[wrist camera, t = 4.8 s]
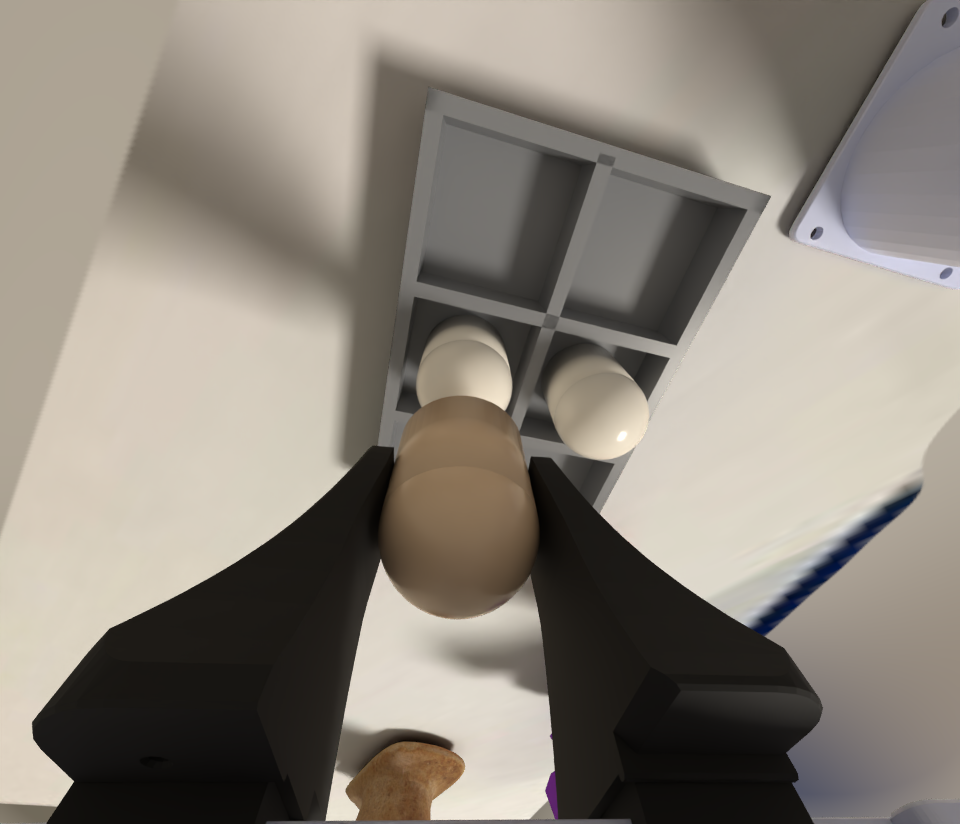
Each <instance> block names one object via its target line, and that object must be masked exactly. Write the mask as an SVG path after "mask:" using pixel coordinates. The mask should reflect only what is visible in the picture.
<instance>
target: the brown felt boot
mask: <svg viewBox="0 0 960 824" xmlns="http://www.w3.org/2000/svg"><path fill="white" fill-rule="evenodd" d="M464 770H465V764H464V761H463V759H462V758H461V757H460V756H458V755H457V754H455V753H454V752H452V751H450V750H447V749H445V748H443V747H439V746H436V745H431V744H425V743H419V742H398V743H395V744H392V745H390V746H389V747H387V748H385V749H384V750H382V751H381V752H380V753H378V754H377V755H376V756H375V757H374V758H373V759H372V760H371V761H370V762H369V763H368V764H367V765H366V766H365V767H364V768H363V769H362V770H361V771H360V772H359V773H358V774H357V776H356V777H355V778H354V779H353V780H352V781H351V782H350V783H349V785H348V786H347V788H346V794H347V796H348V797H349V799H350V800H351V801H352V802H353V803H355V805H356V806H357V807H358V809H359V810H360V811H359V813H358V816H357V819H356V821H398V820H430V808H431V803H432V800H433V799H435V798H436V797H437V796H439V795H440V794H441V793H442V792H444V791H445V790H446V789H448V788H449V787H450V786H452V785H453V784H454V783H455V782H456V781H457V780H458V779H459V778H460V777H461V775H462V774H463V772H464Z"/></svg>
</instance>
